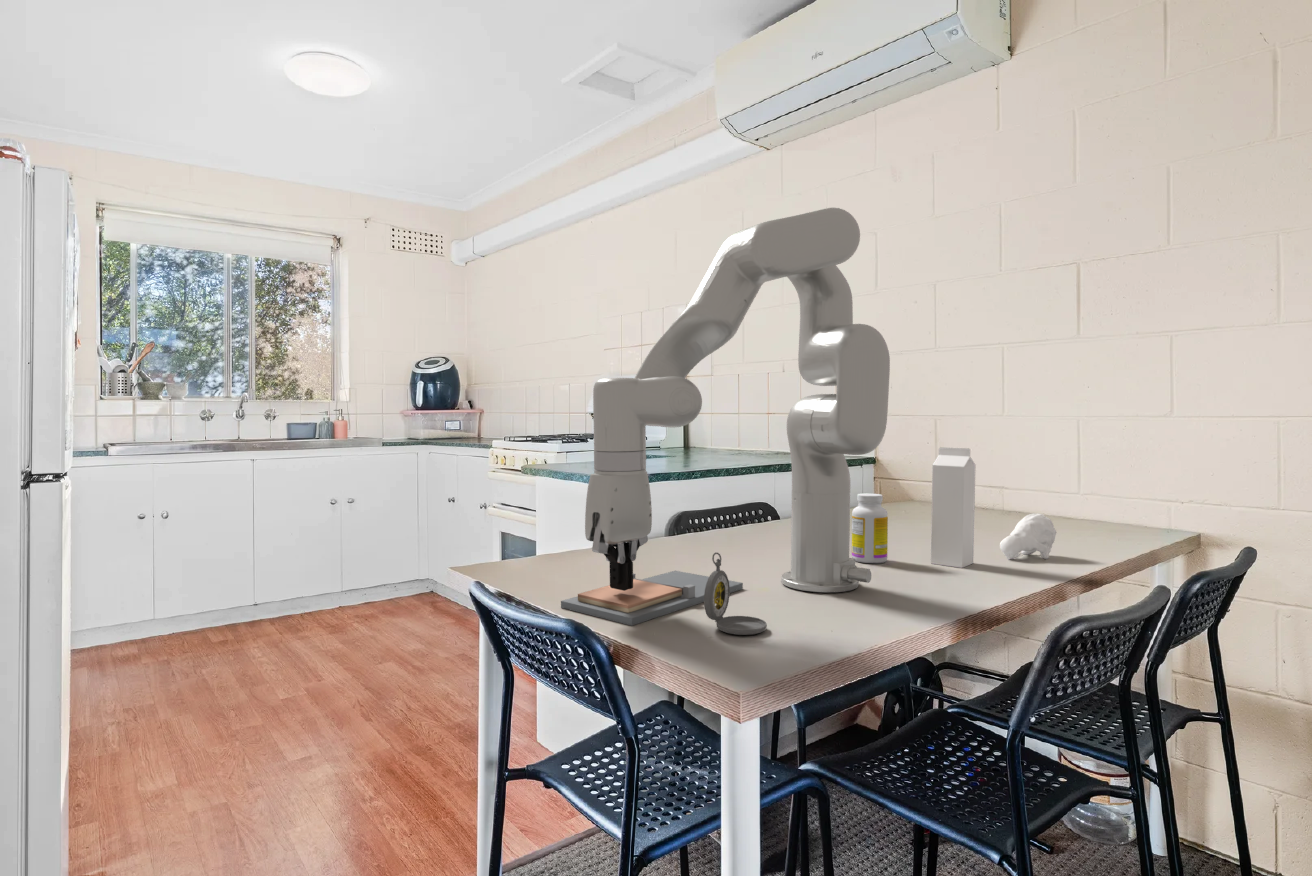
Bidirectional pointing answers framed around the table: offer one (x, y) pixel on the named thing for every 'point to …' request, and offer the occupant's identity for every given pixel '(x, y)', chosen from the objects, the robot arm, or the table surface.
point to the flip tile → (631, 595)
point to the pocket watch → (721, 591)
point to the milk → (953, 508)
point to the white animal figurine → (1030, 537)
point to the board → (691, 596)
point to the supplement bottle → (869, 529)
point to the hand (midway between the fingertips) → (621, 588)
